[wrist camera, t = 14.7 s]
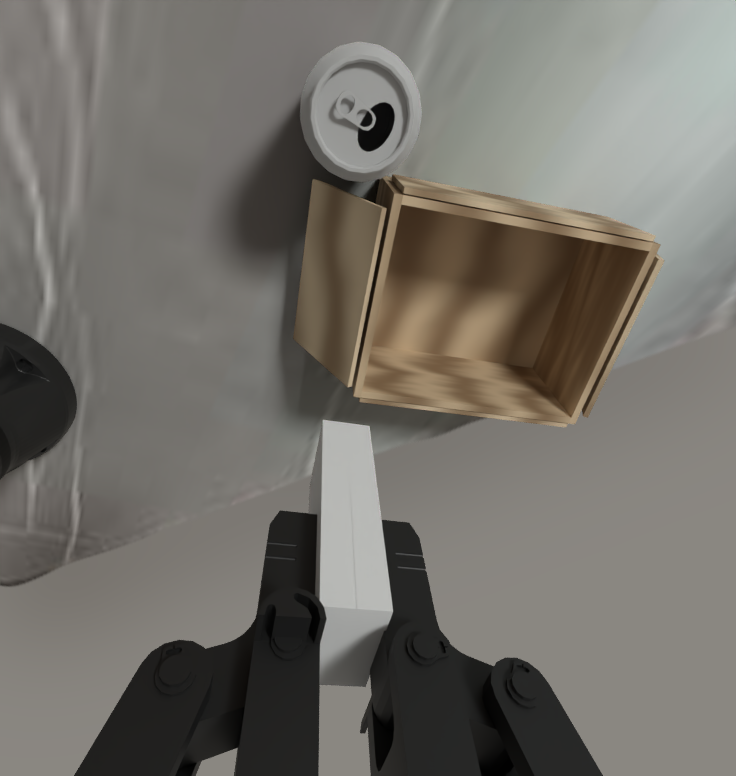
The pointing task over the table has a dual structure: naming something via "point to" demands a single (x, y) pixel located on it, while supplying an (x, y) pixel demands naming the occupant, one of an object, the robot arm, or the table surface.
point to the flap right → (623, 333)
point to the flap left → (337, 276)
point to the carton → (493, 303)
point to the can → (360, 112)
